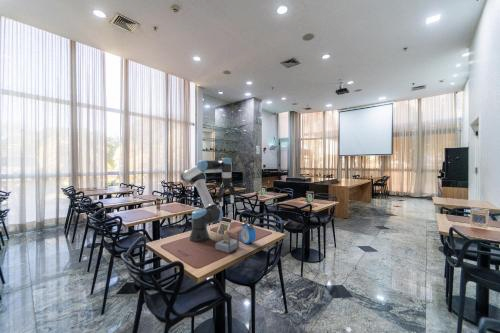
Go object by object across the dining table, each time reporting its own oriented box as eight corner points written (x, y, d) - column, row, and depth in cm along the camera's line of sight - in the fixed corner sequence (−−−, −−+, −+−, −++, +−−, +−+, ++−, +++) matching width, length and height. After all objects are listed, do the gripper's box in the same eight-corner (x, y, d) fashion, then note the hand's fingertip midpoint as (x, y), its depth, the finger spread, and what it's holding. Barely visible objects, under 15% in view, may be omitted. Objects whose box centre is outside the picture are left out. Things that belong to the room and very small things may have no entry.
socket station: (215, 249, 153) (215, 228, 152) (225, 243, 163) (225, 224, 162) (233, 254, 144) (233, 232, 144) (243, 248, 154) (243, 227, 154)
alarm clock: (239, 241, 167) (239, 222, 167) (245, 239, 172) (245, 220, 171) (250, 246, 158) (250, 226, 157) (256, 244, 162) (256, 224, 161)
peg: (223, 247, 155) (223, 231, 154) (225, 246, 157) (225, 230, 157) (226, 248, 153) (226, 232, 153) (228, 247, 156) (228, 231, 155)
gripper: (220, 178, 155) (220, 208, 155) (239, 176, 176) (239, 202, 176) (212, 178, 159) (212, 206, 159) (232, 176, 180) (232, 201, 180)
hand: (226, 204), depth 168 cm, fingers open, 13 cm apart
